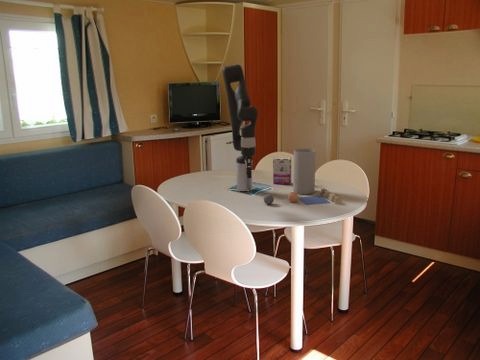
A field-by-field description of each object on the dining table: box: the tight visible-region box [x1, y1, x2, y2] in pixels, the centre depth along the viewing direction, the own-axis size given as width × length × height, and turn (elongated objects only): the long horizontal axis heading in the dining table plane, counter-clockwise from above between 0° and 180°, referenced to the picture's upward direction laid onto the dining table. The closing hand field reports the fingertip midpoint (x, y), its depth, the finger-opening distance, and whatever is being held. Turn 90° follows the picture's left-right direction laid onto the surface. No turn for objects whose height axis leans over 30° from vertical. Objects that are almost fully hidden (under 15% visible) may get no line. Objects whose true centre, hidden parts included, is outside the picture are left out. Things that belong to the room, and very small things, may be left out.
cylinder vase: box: [292, 148, 316, 195], centre depth 269 cm, size 12×12×25 cm
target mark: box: [298, 195, 331, 206], centre depth 255 cm, size 14×14×1 cm
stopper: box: [320, 188, 340, 205], centre depth 256 cm, size 20×2×4 cm, turn 13°
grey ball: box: [263, 193, 275, 205], centre depth 248 cm, size 6×6×6 cm
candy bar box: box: [272, 157, 292, 185], centre depth 290 cm, size 11×5×16 cm, turn 76°
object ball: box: [287, 191, 299, 203], centre depth 251 cm, size 6×6×6 cm
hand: (248, 176), depth 241 cm, fingers open, 8 cm apart
